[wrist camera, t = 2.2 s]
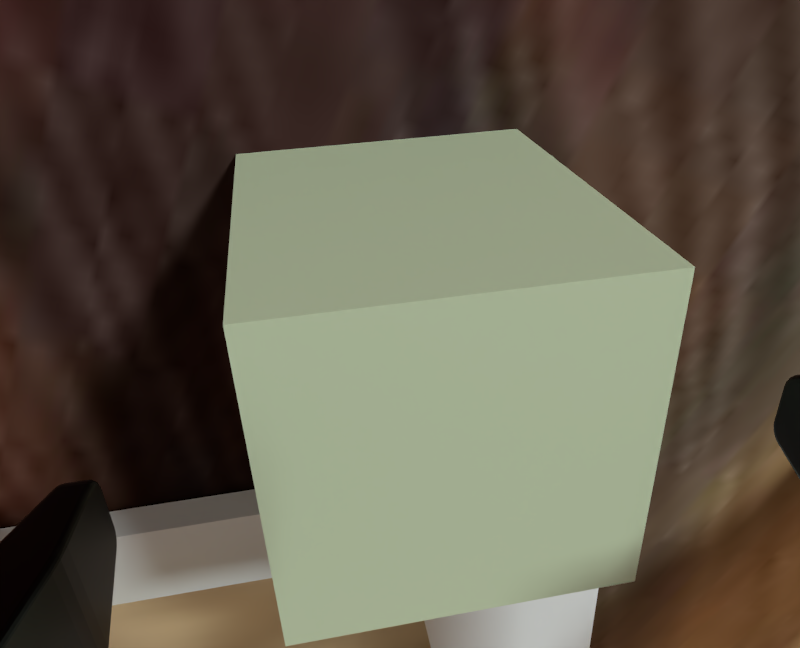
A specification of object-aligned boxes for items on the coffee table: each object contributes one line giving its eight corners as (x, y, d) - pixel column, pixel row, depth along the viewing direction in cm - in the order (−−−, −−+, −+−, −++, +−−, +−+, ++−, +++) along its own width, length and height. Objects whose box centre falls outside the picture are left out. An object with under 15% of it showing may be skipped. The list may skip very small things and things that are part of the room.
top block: (515, 128, 13) (694, 267, 8) (505, 359, 15) (634, 581, 10) (235, 153, 12) (223, 325, 7) (274, 390, 14) (285, 646, 9)
